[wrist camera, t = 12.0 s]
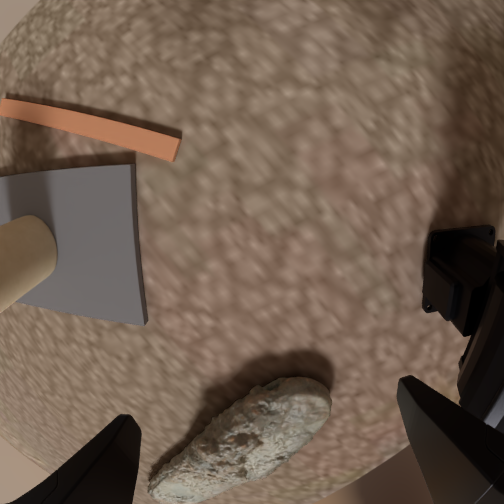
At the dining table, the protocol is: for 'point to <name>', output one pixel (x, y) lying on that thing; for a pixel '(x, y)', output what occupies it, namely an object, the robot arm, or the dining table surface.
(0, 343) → the dining table surface
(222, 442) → the long grey stone
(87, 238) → the mat
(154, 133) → the orange curved strip
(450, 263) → the robot arm
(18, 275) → the candle
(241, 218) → the dining table surface
